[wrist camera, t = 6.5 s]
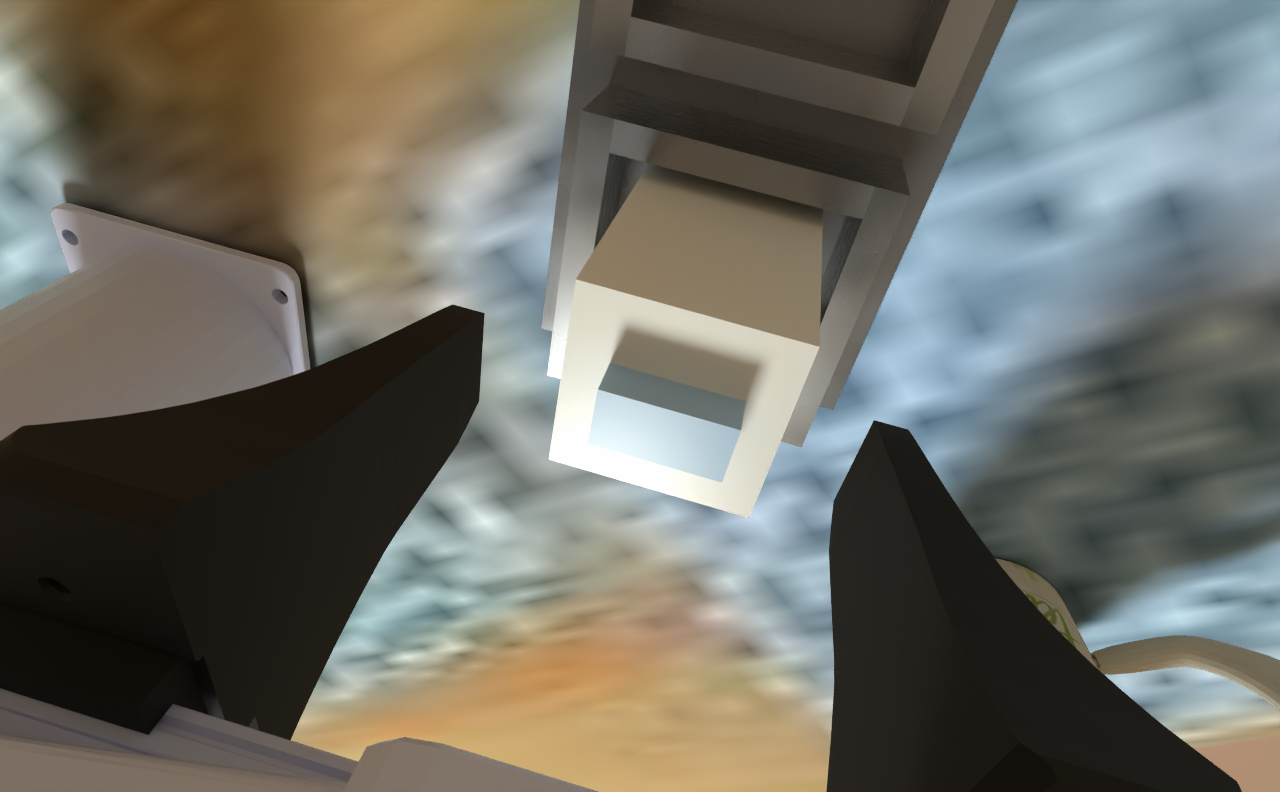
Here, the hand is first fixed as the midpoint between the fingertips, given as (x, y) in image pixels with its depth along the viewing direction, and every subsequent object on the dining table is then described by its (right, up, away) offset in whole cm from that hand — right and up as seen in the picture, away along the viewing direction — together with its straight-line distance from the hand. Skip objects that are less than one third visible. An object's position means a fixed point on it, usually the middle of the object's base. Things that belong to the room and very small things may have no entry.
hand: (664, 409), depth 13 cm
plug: (+2, +4, +5) cm, 7 cm away
